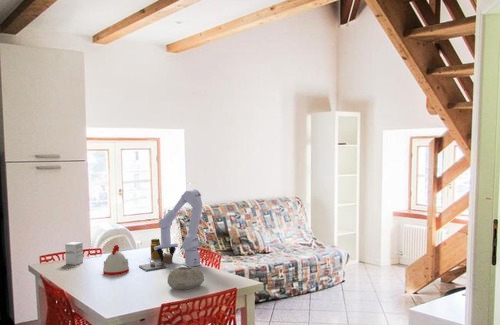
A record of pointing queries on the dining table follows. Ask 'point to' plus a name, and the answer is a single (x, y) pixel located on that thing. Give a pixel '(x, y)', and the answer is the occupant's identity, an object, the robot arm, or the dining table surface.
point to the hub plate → (152, 266)
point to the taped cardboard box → (167, 258)
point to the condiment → (154, 252)
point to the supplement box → (74, 253)
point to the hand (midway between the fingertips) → (166, 260)
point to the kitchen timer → (115, 263)
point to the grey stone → (185, 278)
